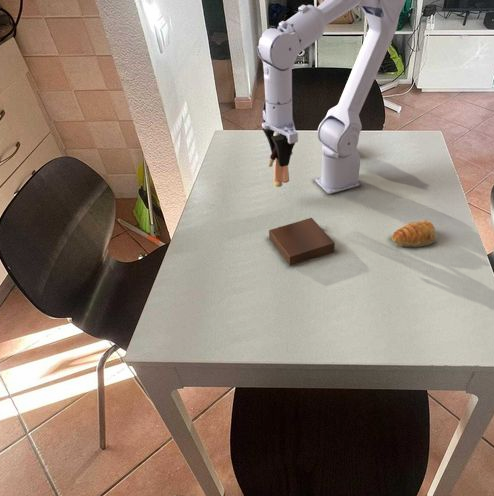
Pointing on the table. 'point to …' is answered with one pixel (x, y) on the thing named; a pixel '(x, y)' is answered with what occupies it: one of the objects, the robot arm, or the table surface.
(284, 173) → the grandmother figurine
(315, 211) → the table surface
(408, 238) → the pastry
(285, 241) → the walnut block
